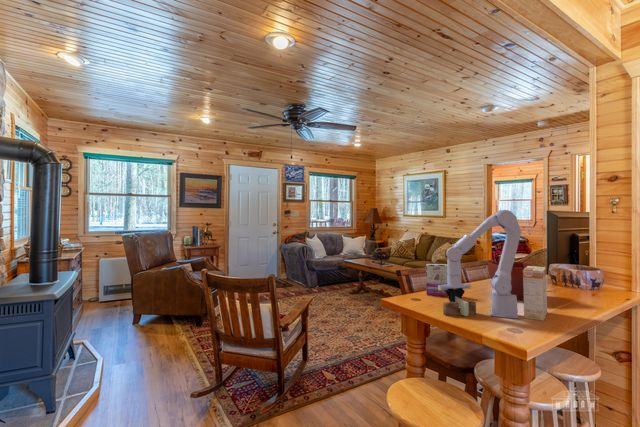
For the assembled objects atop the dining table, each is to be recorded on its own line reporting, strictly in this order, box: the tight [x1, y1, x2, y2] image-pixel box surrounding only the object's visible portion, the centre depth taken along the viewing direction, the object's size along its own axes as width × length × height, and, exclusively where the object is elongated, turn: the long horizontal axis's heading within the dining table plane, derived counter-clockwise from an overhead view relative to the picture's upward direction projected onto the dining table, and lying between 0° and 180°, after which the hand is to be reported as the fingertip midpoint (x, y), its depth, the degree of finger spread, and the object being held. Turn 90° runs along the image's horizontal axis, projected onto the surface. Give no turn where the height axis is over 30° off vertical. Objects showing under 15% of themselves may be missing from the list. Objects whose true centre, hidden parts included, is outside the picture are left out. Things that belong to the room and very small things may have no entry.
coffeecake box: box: [523, 265, 548, 322], centre depth 137 cm, size 15×7×20 cm, turn 141°
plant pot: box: [487, 261, 542, 301], centre depth 167 cm, size 19×19×17 cm
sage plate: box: [455, 296, 469, 317], centre depth 140 cm, size 10×2×6 cm, turn 10°
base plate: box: [442, 300, 477, 317], centre depth 140 cm, size 14×2×5 cm, turn 100°
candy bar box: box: [425, 263, 448, 297], centre depth 175 cm, size 11×5×16 cm, turn 73°
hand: (454, 305), depth 143 cm, fingers closed on sage plate, 2 cm apart
